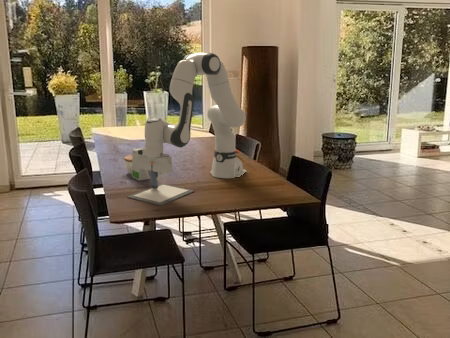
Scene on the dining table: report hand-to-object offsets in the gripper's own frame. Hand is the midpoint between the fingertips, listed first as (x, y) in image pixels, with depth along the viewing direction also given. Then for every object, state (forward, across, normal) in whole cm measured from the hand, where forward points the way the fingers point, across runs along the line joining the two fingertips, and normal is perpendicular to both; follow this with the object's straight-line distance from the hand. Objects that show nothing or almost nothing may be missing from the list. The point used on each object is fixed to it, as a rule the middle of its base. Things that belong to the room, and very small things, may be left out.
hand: (154, 179), depth 228 cm
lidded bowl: (+6, +30, -20) cm, 37 cm away
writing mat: (+6, -6, +2) cm, 9 cm away
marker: (+4, 0, 0) cm, 4 cm away
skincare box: (+6, +21, -14) cm, 26 cm away
